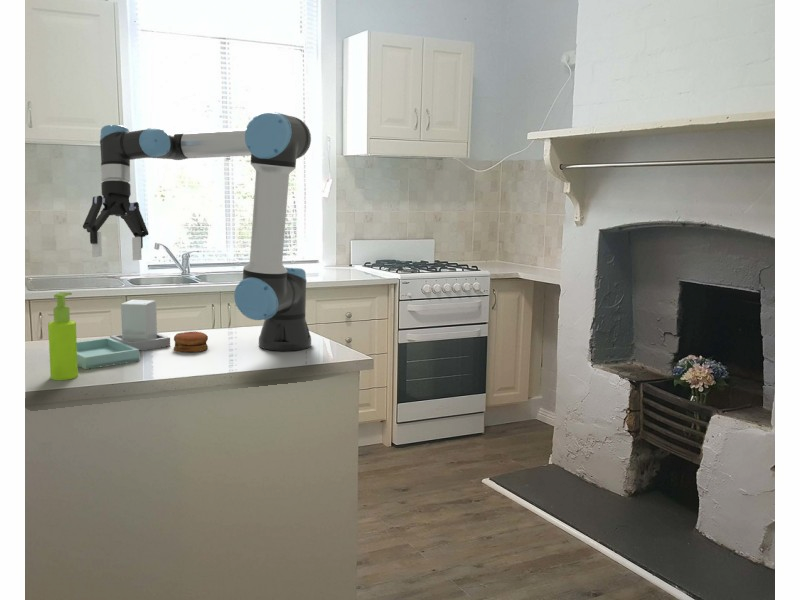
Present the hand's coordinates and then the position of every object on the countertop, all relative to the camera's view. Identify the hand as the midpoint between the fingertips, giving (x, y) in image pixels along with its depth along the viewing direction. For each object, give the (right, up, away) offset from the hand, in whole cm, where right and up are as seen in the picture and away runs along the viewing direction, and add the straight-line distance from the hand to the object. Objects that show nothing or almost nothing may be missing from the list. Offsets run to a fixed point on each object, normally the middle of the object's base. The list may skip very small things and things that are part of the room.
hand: (117, 258), depth 199 cm
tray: (-1, -27, -10) cm, 29 cm away
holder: (+4, -24, +5) cm, 25 cm away
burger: (+19, -26, +3) cm, 32 cm away
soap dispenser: (-2, -30, -28) cm, 41 cm away
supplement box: (+4, -25, +5) cm, 26 cm away
